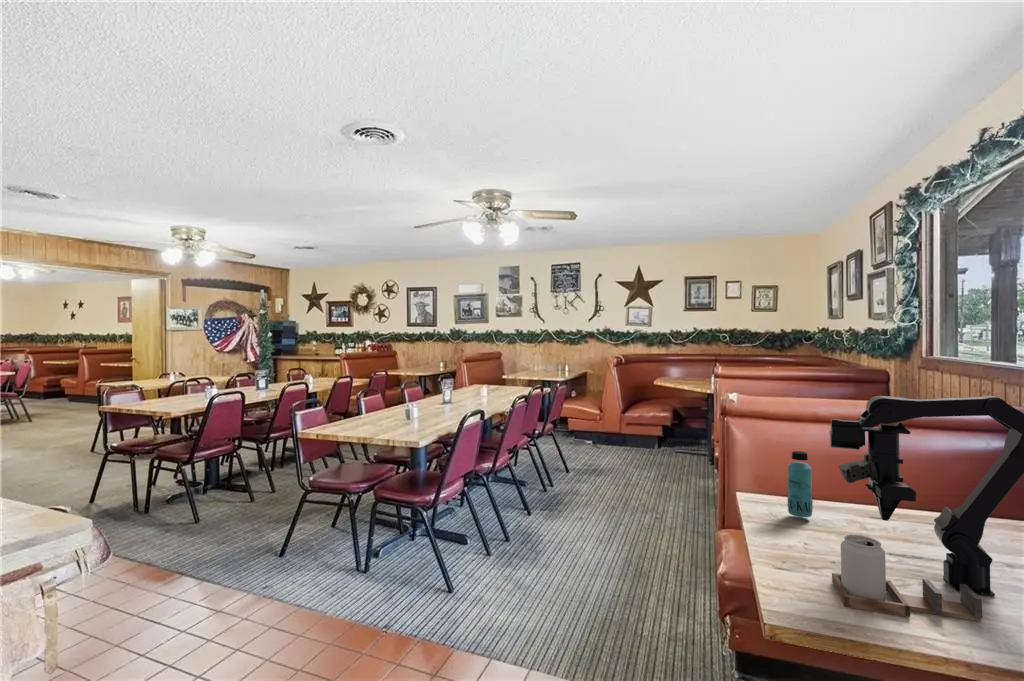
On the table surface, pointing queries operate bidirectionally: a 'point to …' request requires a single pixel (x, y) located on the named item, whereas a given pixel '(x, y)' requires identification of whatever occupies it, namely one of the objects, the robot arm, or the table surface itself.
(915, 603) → the wooden frame
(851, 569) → the can
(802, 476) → the beverage bottle
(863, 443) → the robot arm
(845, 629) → the table surface
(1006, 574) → the table surface
